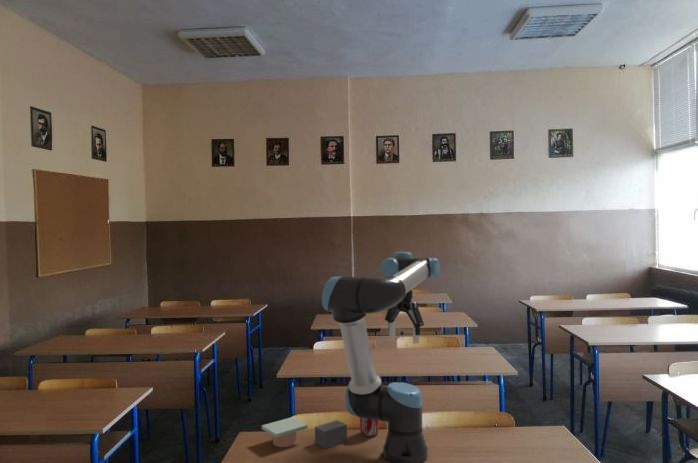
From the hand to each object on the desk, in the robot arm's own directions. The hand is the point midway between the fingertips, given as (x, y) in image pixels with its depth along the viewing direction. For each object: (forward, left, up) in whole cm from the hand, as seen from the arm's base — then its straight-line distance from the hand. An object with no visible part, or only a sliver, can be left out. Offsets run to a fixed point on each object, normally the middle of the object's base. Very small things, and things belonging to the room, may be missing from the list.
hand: (403, 340), depth 204 cm
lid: (+11, +51, -27) cm, 59 cm away
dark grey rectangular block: (0, +38, -32) cm, 49 cm away
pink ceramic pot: (+11, +51, -32) cm, 61 cm away
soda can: (-3, +22, -32) cm, 39 cm away
